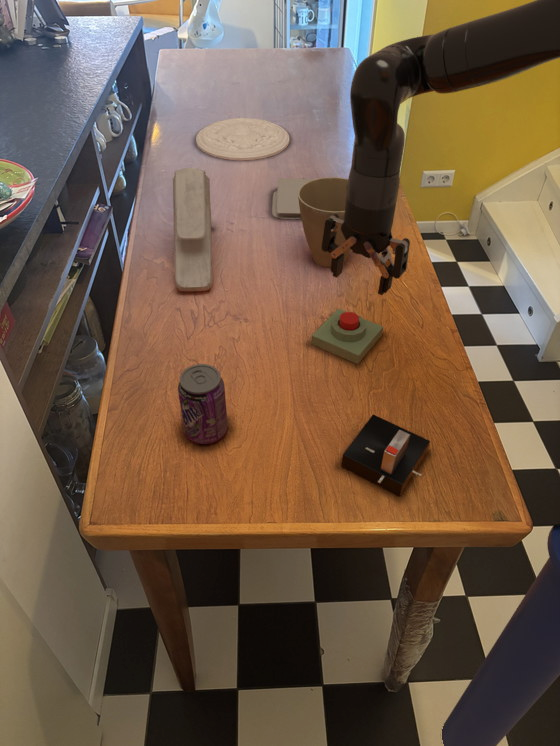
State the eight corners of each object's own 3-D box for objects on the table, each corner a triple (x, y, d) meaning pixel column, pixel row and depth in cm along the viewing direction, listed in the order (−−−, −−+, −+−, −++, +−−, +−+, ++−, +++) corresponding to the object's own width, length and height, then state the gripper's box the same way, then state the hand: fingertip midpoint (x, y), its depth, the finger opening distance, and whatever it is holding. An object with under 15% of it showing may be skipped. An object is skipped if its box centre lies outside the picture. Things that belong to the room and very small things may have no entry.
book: (273, 189, 159) (273, 175, 156) (360, 190, 159) (361, 176, 156) (271, 218, 148) (271, 204, 145) (365, 220, 148) (366, 206, 145)
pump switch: (382, 335, 116) (384, 319, 114) (357, 364, 110) (359, 348, 108) (337, 316, 120) (338, 300, 118) (311, 344, 114) (312, 327, 112)
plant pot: (313, 235, 143) (317, 171, 132) (371, 252, 138) (380, 187, 127) (283, 266, 133) (285, 200, 122) (345, 285, 128) (352, 218, 117)
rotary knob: (395, 448, 92) (399, 428, 89) (405, 453, 92) (410, 433, 88) (380, 470, 89) (384, 450, 86) (391, 475, 89) (395, 455, 85)
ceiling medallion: (296, 157, 173) (296, 146, 171) (198, 162, 170) (197, 151, 168) (282, 119, 193) (282, 109, 191) (194, 123, 190) (193, 113, 188)
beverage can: (178, 422, 100) (169, 370, 91) (217, 408, 102) (212, 356, 94) (193, 453, 95) (186, 400, 87) (234, 437, 98) (231, 385, 89)
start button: (361, 323, 113) (362, 316, 112) (352, 333, 111) (353, 326, 110) (345, 316, 115) (345, 309, 113) (335, 326, 113) (336, 319, 111)
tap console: (436, 457, 95) (440, 444, 93) (404, 509, 88) (408, 497, 86) (370, 426, 100) (373, 413, 97) (336, 473, 93) (337, 460, 90)
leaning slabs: (184, 308, 142) (172, 285, 119) (182, 207, 144) (169, 165, 121) (217, 307, 142) (210, 283, 119) (214, 207, 145) (207, 165, 122)
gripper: (426, 198, 89) (407, 287, 100) (342, 172, 94) (333, 258, 106) (404, 220, 85) (387, 310, 96) (317, 191, 90) (311, 279, 101)
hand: (359, 283), depth 101 cm, fingers open, 8 cm apart
